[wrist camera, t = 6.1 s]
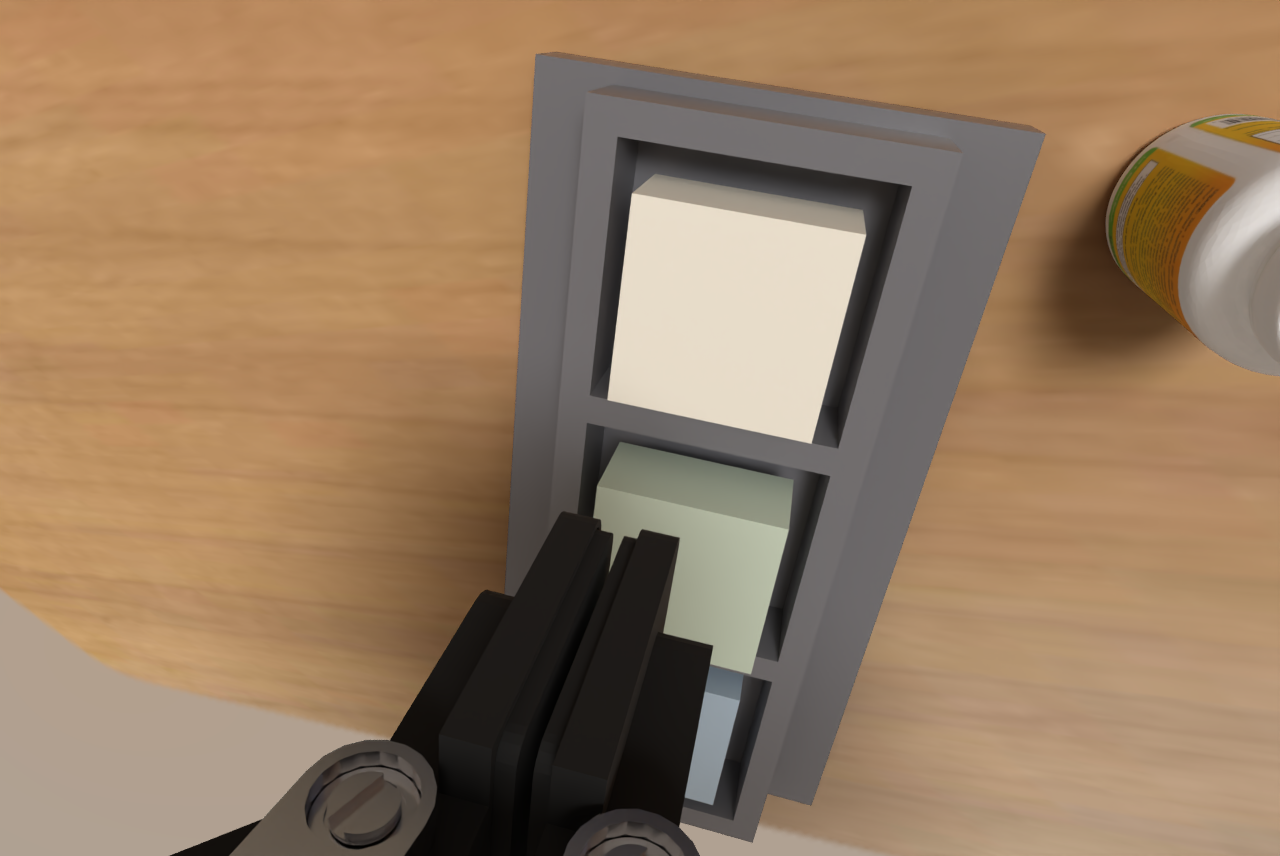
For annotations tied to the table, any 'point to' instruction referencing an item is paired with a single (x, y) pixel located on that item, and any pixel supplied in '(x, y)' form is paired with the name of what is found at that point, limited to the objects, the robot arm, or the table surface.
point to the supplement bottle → (1208, 233)
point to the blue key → (713, 733)
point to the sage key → (704, 541)
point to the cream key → (732, 304)
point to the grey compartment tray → (859, 378)
